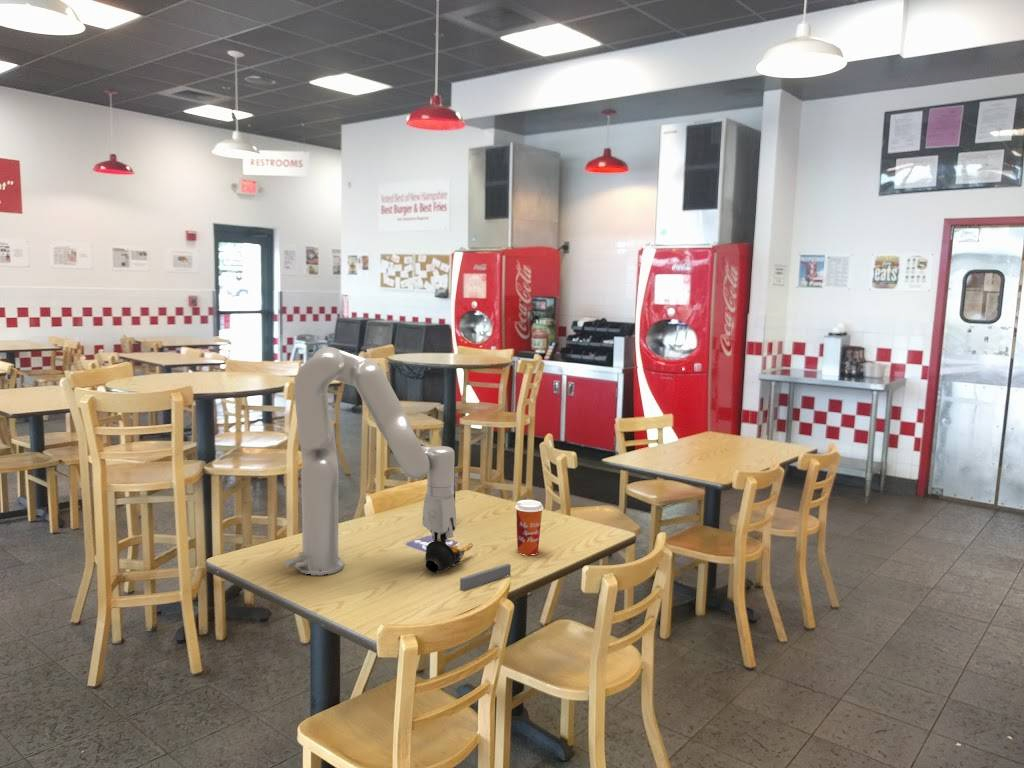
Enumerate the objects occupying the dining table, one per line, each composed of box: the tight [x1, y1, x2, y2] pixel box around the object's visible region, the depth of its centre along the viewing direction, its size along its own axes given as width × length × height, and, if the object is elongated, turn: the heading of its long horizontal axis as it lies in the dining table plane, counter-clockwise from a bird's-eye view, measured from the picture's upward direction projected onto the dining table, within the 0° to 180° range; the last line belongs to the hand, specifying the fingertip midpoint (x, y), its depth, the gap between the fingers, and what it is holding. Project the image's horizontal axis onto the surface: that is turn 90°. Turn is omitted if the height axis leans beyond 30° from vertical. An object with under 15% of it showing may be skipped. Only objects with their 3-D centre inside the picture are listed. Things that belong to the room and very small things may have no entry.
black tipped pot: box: [424, 541, 474, 574], centre depth 212 cm, size 9×11×18 cm
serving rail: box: [459, 563, 512, 591], centre depth 202 cm, size 17×1×3 cm, turn 133°
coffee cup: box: [515, 499, 544, 555], centre depth 224 cm, size 8×8×15 cm
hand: (439, 553), depth 216 cm, fingers closed
